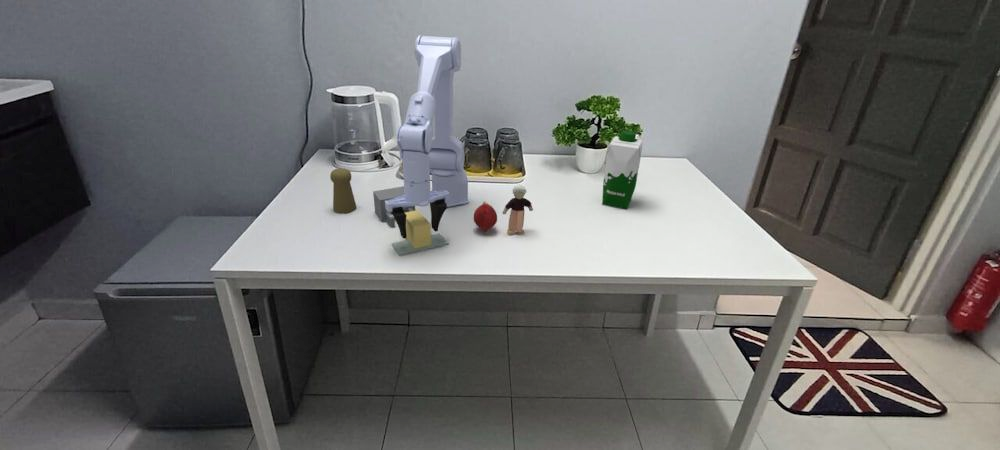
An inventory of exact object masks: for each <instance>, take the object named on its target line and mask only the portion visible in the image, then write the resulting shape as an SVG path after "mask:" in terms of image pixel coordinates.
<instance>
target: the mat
mask: <svg viewBox="0 0 1000 450" xmlns="http://www.w3.org/2000/svg"><path fill="white" fill-rule="evenodd" d="M449 244H450V243H449V241H447V240H446V239H445V237H444V236H443V235H442V234H441V233H439V232H437V233H431V245H428V246H424V247H419V248H414V247H413V245H412V244H411V243H410V242H409V240H408V239H406V240H402V241H396V242H392V243H391V246H392V247H393V249H394V251H396V253H397V255H398V256H400V257H402V256H404V255H409V254H413V253H417V252H422V251H426V250H431V249H434V248H435V249H436V248H440V247H444V246H448V245H449Z"/></svg>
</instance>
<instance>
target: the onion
mask: <svg viewBox="0 0 1000 450" xmlns="http://www.w3.org/2000/svg"><path fill="white" fill-rule="evenodd" d="M497 222H498V214H497V212H496V209H495V208H494V207H493V206H492V205H490V204H489V203H487V201H486V200H483V202H482V204H481V205H479V206H478V207H477V208H476V209H475V210H474V213H473V223H474V224H475V225H476V227H478V228H479V229H480V230H481V231H484V232H486V231H488V230H490V229H492V228H493V227H495V226H496V224H497Z"/></svg>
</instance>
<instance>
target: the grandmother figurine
mask: <svg viewBox="0 0 1000 450" xmlns="http://www.w3.org/2000/svg"><path fill="white" fill-rule="evenodd" d="M526 193H527V189H526V187H525V186H523V185H522V184H516V185H514V186H513V187H512V194H513V196H514V197H512V198H511V199H510V200H509V201H508V202H507V203H506V204H505V206H504V208H503V211H502V214H503V215H506V214H507V213H508V211H509V210H510V209H511V210H510V214H509V218H508V219H509V220H508V225H507V227H508V229H507V231H506V234H507V235H509V236H512V235H515V233H517V234H518V235H520V234H525V230H524V229H523V228H524V223H525V207H526V208H527V209H528V210H529V211H530V212H532V211H533V210H534V208H533V205H532V202H531V201H530V200H528V199H527V198H525V197H524V196H525V195H526Z"/></svg>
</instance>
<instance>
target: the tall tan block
mask: <svg viewBox="0 0 1000 450" xmlns="http://www.w3.org/2000/svg"><path fill="white" fill-rule="evenodd" d="M405 214H406V215H407V216H406V234H407V237H406V238H405V239H406V240H409V242H410V243H411V244H412V245H413V247H414V248H419V247H424V246H428V245H431V235H432V231H431V230H432V226H431V222H429V221H428V219H427V218H426V217H425V216H424V215H423V214H422V213H421V212H420V211H419V209H415V211H410V212H405Z"/></svg>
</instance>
